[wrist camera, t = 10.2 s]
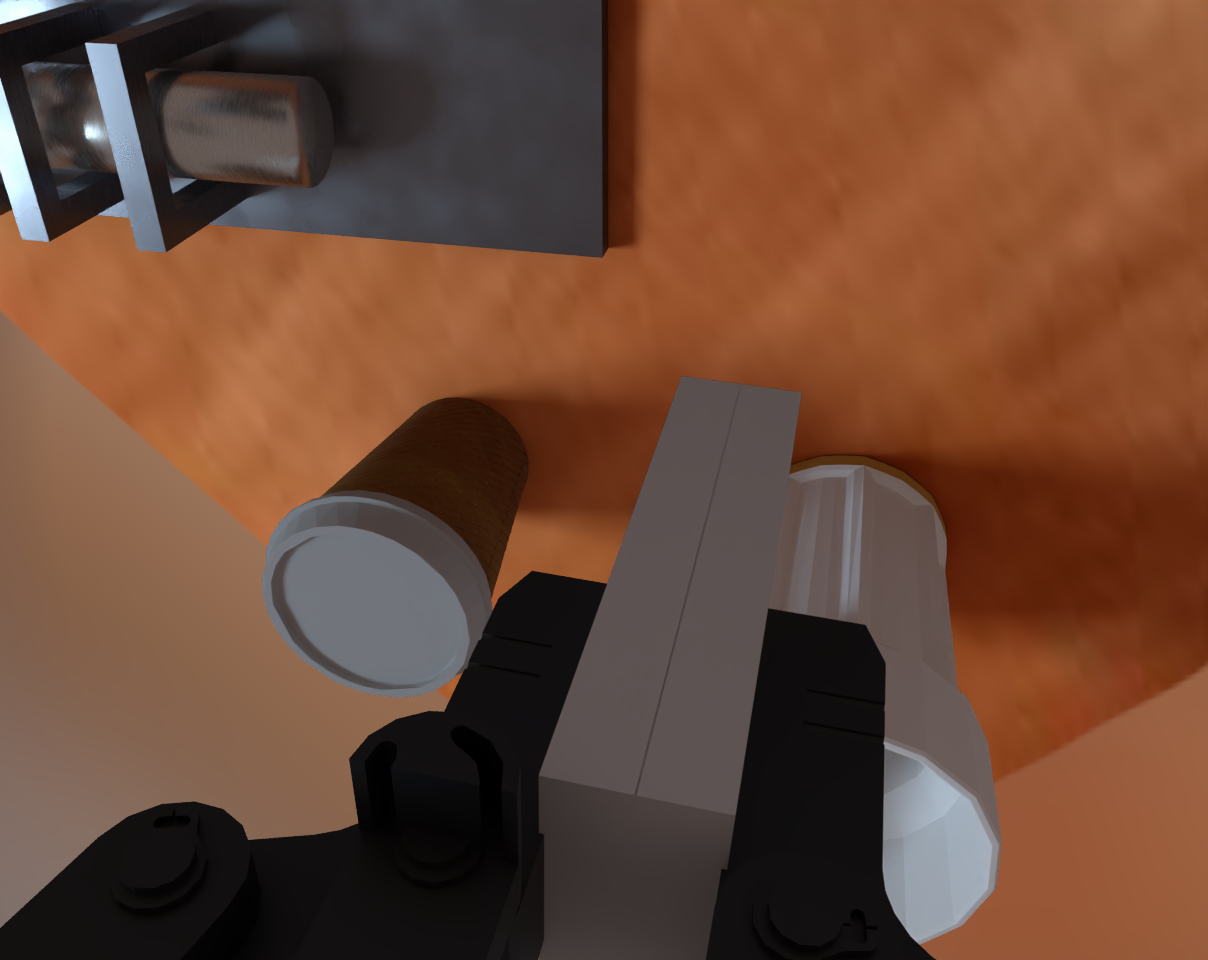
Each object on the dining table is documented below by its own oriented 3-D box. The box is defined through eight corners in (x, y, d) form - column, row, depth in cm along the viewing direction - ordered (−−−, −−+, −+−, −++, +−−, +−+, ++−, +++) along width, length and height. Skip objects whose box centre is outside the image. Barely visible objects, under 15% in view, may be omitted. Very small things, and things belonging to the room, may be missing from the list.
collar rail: (-105, -43, 44) (-282, -9, 38) (607, -17, 39) (547, 28, 32) (-26, 195, 50) (-168, 262, 43) (608, 248, 44) (556, 334, 38)
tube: (326, 60, 41) (273, 87, 38) (341, 171, 44) (293, 207, 40) (-36, 41, 44) (-116, 65, 41) (-3, 146, 47) (-76, 178, 43)
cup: (1028, 516, 47) (1084, 844, 32) (873, 668, 53) (863, 996, 39) (806, 386, 46) (764, 665, 31) (676, 557, 52) (592, 852, 38)
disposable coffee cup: (601, 487, 51) (530, 659, 41) (458, 562, 55) (364, 732, 46) (473, 330, 48) (364, 474, 38) (333, 423, 52) (204, 574, 43)
